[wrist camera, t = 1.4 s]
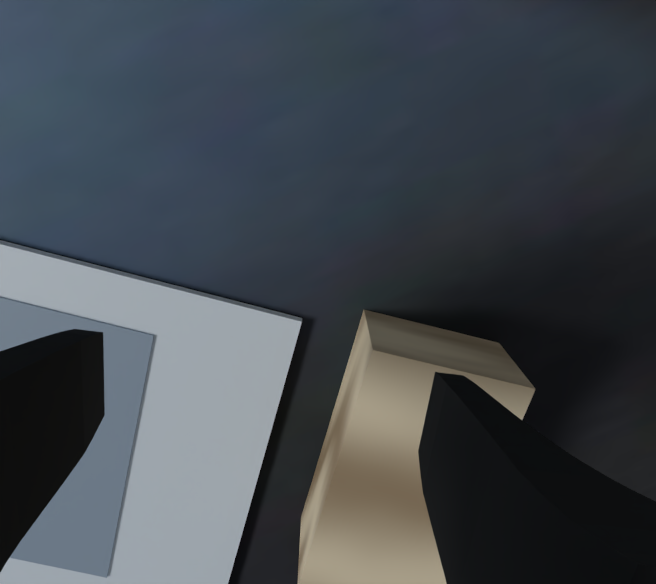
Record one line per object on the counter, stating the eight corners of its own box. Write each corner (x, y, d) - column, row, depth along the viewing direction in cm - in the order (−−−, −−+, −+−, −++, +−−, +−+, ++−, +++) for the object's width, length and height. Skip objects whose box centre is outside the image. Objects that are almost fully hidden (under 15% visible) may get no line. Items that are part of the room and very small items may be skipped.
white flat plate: (216, 624, 25) (214, 634, 24) (-184, 543, 23) (-195, 552, 23) (302, 318, 20) (301, 322, 20) (-191, 190, 19) (-205, 192, 18)
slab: (419, 538, 24) (438, 617, 20) (301, 513, 23) (297, 589, 20) (496, 340, 21) (535, 389, 17) (363, 307, 20) (372, 350, 17)
